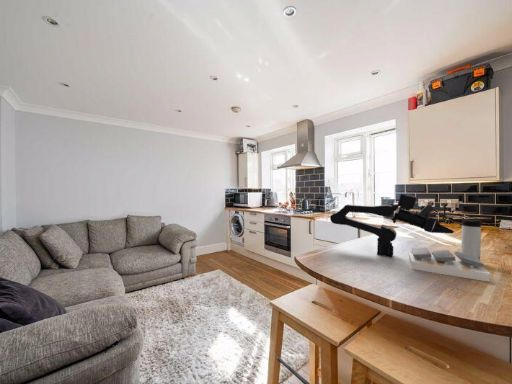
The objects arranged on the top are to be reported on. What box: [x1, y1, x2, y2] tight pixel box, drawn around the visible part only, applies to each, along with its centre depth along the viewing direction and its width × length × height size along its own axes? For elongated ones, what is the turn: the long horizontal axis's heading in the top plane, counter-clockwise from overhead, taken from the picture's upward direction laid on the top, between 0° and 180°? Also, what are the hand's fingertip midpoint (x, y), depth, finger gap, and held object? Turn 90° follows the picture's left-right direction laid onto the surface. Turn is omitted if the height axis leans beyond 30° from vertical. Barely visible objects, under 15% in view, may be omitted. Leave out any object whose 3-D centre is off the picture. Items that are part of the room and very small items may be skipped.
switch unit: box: [408, 252, 491, 282], centre depth 90 cm, size 23×15×4 cm, turn 58°
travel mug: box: [460, 218, 482, 262], centre depth 98 cm, size 6×7×20 cm
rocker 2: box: [430, 249, 457, 261], centre depth 91 cm, size 6×11×1 cm, turn 148°
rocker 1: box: [410, 247, 433, 258], centre depth 95 cm, size 6×11×1 cm, turn 148°
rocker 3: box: [453, 250, 485, 268], centre depth 87 cm, size 6×11×1 cm, turn 149°
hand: (451, 231), depth 93 cm, fingers open, 9 cm apart
